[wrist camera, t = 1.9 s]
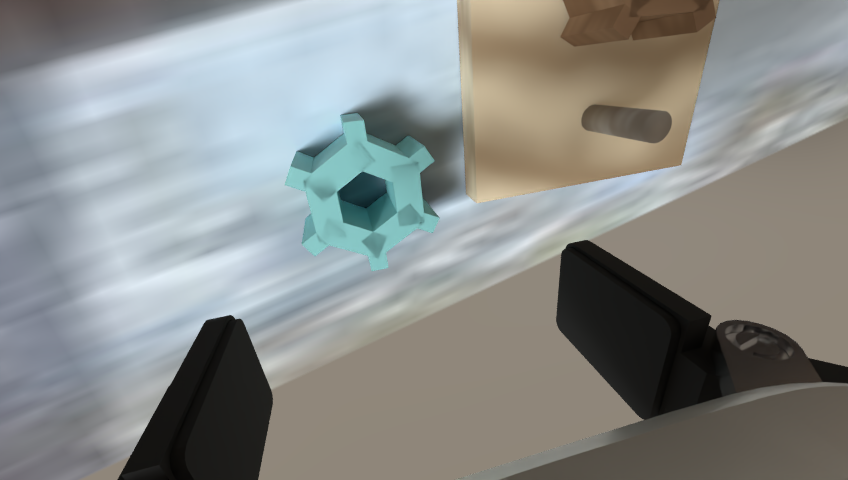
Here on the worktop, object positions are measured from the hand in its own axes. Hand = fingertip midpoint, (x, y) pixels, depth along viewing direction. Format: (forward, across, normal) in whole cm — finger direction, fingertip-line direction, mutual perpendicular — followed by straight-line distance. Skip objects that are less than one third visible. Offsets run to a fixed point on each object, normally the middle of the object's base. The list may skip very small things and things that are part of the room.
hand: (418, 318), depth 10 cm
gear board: (+14, -14, -7) cm, 21 cm away
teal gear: (+14, +1, 0) cm, 14 cm away
